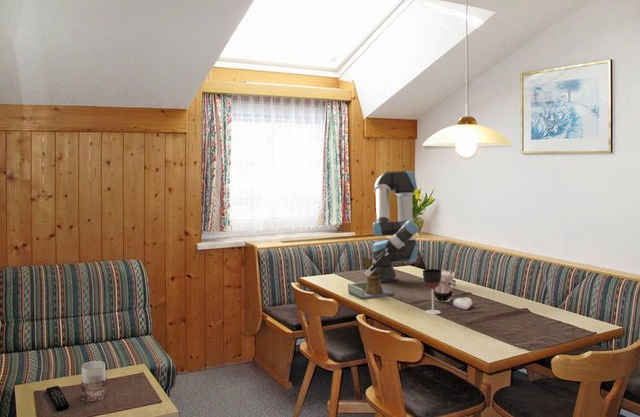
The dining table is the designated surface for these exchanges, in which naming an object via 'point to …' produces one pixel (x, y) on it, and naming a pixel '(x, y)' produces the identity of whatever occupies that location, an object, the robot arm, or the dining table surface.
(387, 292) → the corner bay
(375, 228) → the robot arm
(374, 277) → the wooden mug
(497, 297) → the dining table surface
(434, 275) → the wineglass
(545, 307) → the dining table surface
